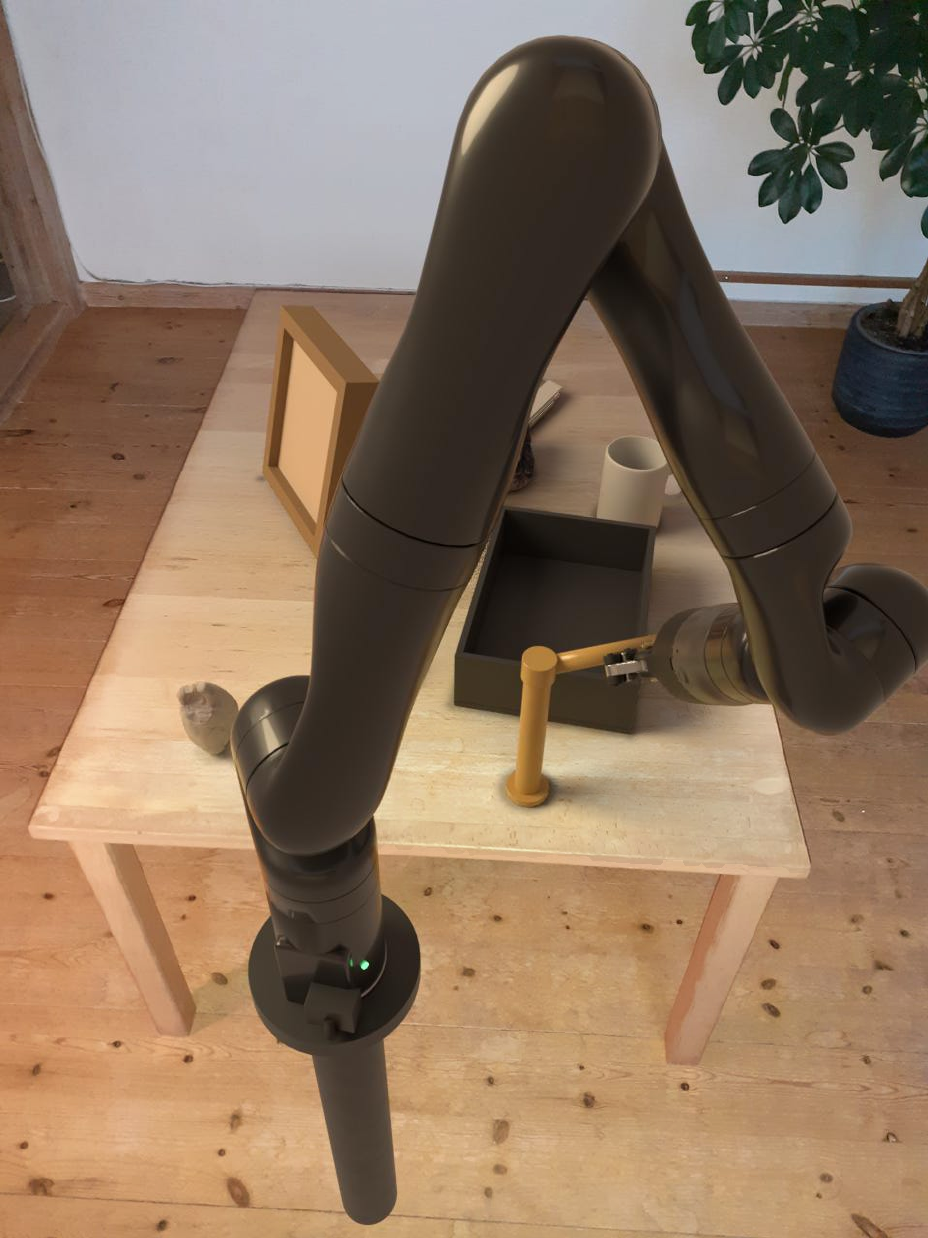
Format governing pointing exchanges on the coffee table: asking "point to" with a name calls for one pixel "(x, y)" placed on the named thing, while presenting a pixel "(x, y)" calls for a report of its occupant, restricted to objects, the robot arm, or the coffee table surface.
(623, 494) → the mug
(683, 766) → the coffee table surface
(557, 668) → the faucet spout
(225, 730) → the fossil
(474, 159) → the robot arm
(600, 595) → the sink
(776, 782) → the coffee table surface
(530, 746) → the faucet column
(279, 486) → the photo frame
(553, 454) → the coffee table surface
